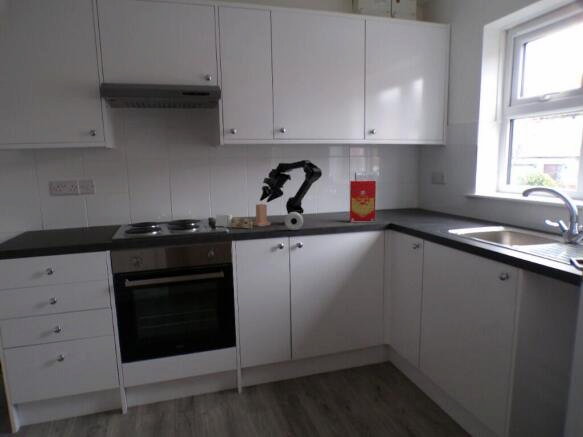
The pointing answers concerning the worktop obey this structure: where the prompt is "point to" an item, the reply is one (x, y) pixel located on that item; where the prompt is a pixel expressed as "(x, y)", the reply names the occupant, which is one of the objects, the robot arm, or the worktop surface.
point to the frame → (224, 220)
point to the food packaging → (362, 200)
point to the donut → (291, 216)
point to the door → (241, 223)
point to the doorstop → (261, 215)
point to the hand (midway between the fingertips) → (263, 201)
